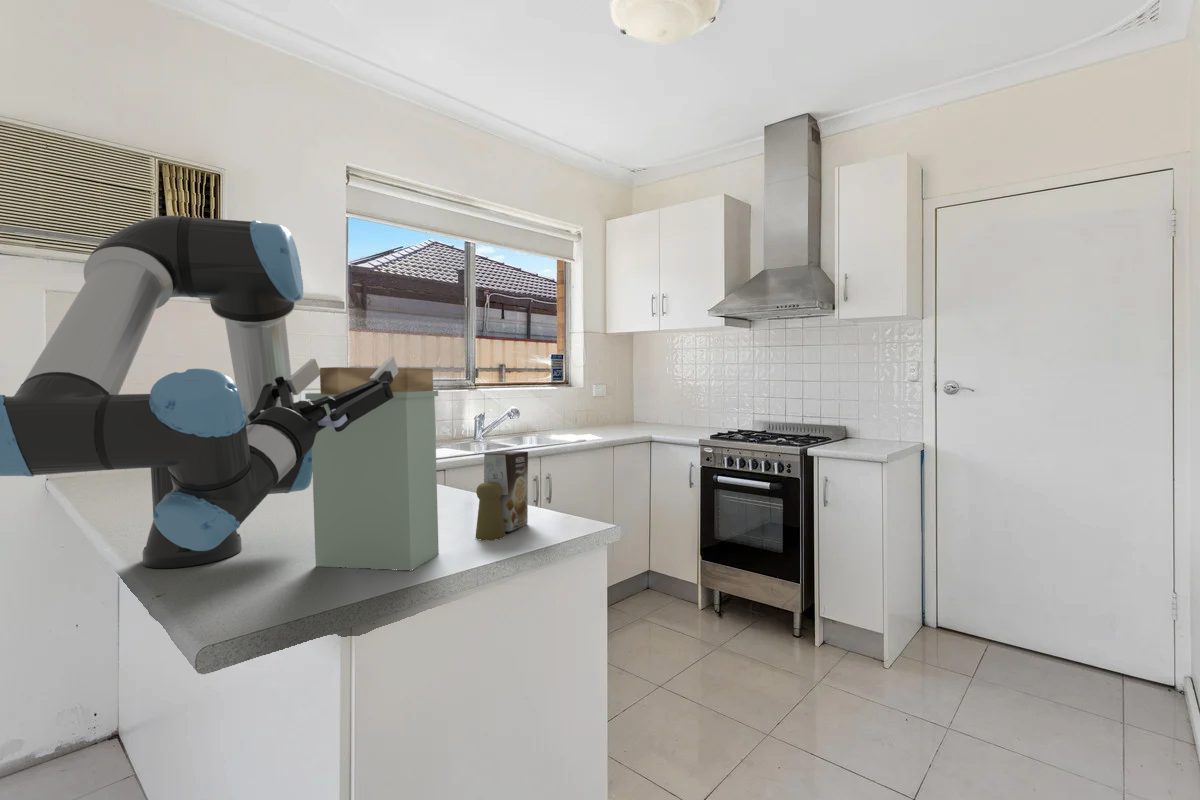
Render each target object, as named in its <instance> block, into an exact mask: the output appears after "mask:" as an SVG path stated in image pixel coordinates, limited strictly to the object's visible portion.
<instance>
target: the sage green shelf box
mask: <svg viewBox="0 0 1200 800" xmlns="http://www.w3.org/2000/svg"><path fill="white" fill-rule="evenodd" d="M392 393H393V396H394V397H393V398H392V399H390V400H389V401H387V402H385V403H384V404H382V405H380V406H379V407H377V408H375V409H373V410H372V411H370V412H368V413H367V414H365V415H363V416H362V417H360V418H358V419H357V420H355V421H353V422H352V423H350V424H349V425H348V426H347V427H346V428H345V429H344V430H343V431H340V432H336V431H335V428H334V426H326V427H325V428H324V429H322V430H320V431H318V432H317V434H316V436H315V440H314V444H313V446H312V492H313V493H312V494H313V497H312V498H313V522H314V523H313V524H314V525H313V527H314V528H313V529H314V550H315V551H314V552H315V553H314V555H315V556H314V558H315V567H322V568H323V567H324V568H326V567H328V568H339V567H342V568H343V569H359V568H371V569H370V570H378V569H395V570H394V571H397V570H412V569H414V568H415V569H417V568H419V567H420V566H422V565H423V564H425V563H427V562H428V561H429V559H430V560H432V559H433V558H434V557H436V556H438V555H439V551H440V550H439V523H438V522H439V521H438V519H439V515H438V513H439V512H438V482H437V479H438V478H437V445H436V444H437V442H436V441H437V440H436V410H435V409H436V406H435V404H436V403H435V401H436V400H435V397H439V390H433V391H416V392H392ZM304 395H305V400H309V401H316V400H318V399H320V398H323V397H325V396H330V397H334V396H336V395H339V394H334V395H321V392H308V393H304ZM324 407H325V410H326V412H327V416H329V415H330V414H331V411H330V409H329V407H328V404H325V405H324ZM435 555H436V556H435ZM432 557H433V558H432ZM427 560H428V561H427ZM424 562H425V563H424ZM422 563H423V564H422ZM421 564H422V565H421ZM419 565H420V566H419ZM345 567H346V568H345ZM416 567H417V568H416ZM342 568H341V569H342ZM396 569H397V570H396ZM415 569H414V570H415ZM412 571H413V570H412Z"/></svg>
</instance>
